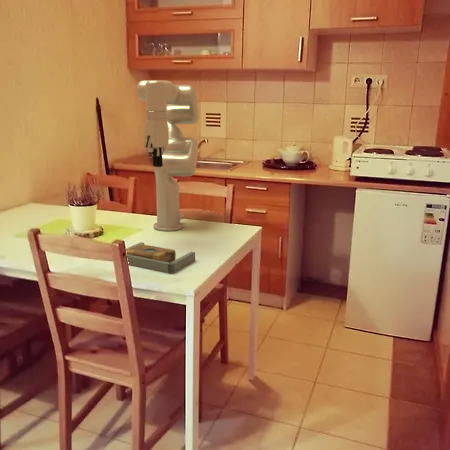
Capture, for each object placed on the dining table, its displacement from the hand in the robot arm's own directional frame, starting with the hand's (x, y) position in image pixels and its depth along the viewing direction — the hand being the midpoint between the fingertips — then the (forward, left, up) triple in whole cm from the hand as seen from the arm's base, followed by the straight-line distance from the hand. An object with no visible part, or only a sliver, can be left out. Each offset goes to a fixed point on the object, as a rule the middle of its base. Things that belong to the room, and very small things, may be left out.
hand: (157, 166), depth 181 cm
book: (+20, +10, -30) cm, 37 cm away
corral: (+19, +12, -29) cm, 37 cm away
